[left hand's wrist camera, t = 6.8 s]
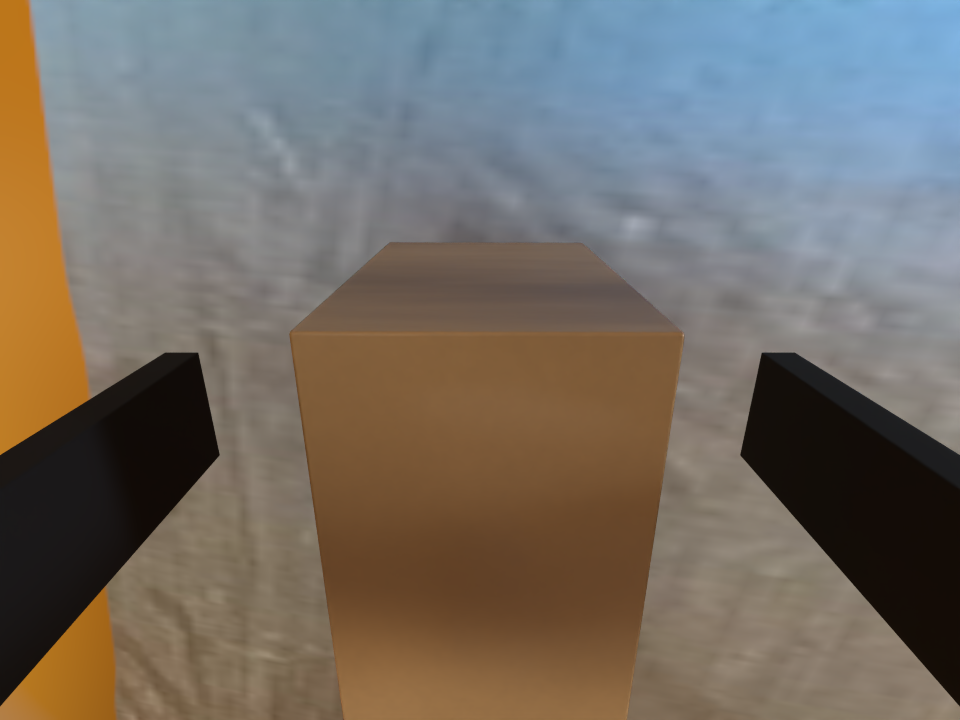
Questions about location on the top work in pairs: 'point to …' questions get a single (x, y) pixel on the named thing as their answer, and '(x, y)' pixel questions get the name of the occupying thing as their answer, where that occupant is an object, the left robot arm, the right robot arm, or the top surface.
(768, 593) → the top surface
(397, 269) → the bar
